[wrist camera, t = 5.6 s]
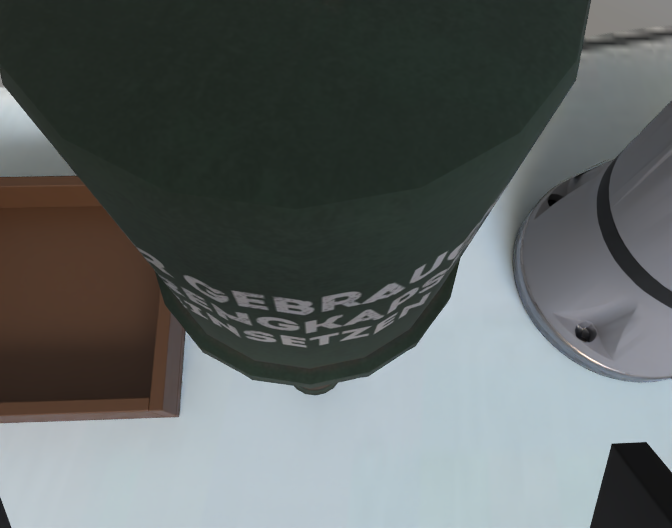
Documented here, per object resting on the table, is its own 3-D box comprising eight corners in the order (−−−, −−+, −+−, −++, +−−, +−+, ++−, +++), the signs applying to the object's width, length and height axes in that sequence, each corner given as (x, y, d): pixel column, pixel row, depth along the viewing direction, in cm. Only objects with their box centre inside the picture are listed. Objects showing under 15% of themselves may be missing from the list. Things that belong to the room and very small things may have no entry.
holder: (194, 200, 39) (182, 173, 35) (179, 417, 33) (162, 410, 29) (-34, 204, 38) (-70, 177, 34) (-90, 426, 32) (-140, 421, 29)
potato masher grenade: (230, 411, 33) (-240, 109, 5) (277, 291, 36) (137, -300, 8) (356, 455, 32) (582, 371, 5) (393, 328, 36) (662, -185, 8)
